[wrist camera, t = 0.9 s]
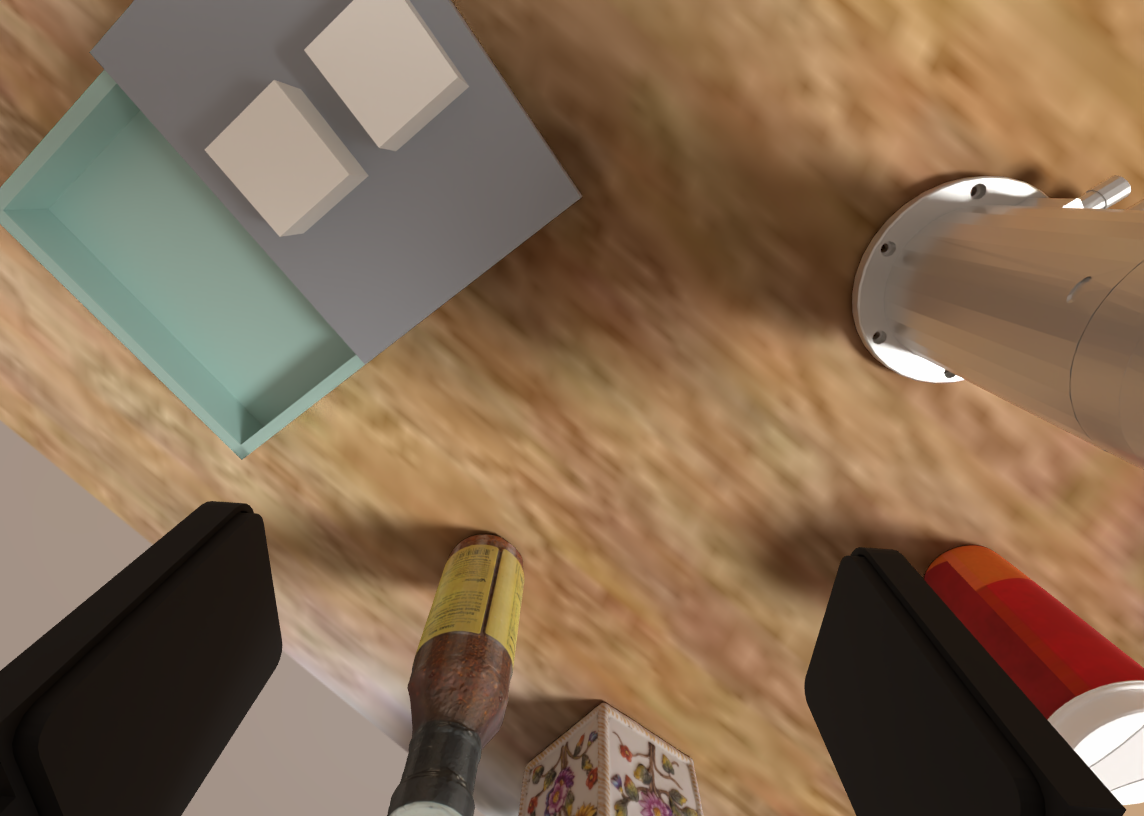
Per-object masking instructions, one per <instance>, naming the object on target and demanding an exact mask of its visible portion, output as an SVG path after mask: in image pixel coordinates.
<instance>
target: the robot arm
mask: <svg viewBox="0 0 1144 816" xmlns="http://www.w3.org/2000/svg"><path fill="white" fill-rule="evenodd" d="M971 189H972V193H971V194H970V192H971ZM1130 192H1131V186H1130V185H1129V183H1128V181H1127V180H1125V179H1124V178H1123V177H1121V176H1116V175H1114V176H1111V177H1109V178H1108V179H1106V180H1104V181H1103V182H1101V183H1099V184H1098V185H1096V186H1094V187H1093V188H1091V189H1090V190H1088V191H1087V192H1086V193H1085V194H1084V195H1082V196H1080V197H1079V198H1077V199H1069V198H1049V197H1048V196H1047V195H1046V194H1045V193H1044V192H1043V191H1041V190H1039V189H1037V188H1035V187H1034V186H1032V185H1030V184H1028V183H1026V182H1023V181H1019V180H1016V179H1012V178H1008V177H994V176H980V177H967V178H962V179H958V180H954V181H950V182H946V183H943V184H941V185H938V186H936V187H934V188H932V189H929V190H927V191H925V192H923V193H921V194H920V195H918V196H917V197H915V198H914V199H912V200H911V201H909V202H908V203H906V204H905V205H903V206H902V207H901V208H900V209H899V210H898V211H897V212H896V213H894V214H893V215H892V216H891V217H890V218H889V219H888V220H887V221H886V222H885V223H884V225H883V226H882V227H881V228H880V230H879V231H878V232H877V233H876V235H875V236H874V237H873V239H872V240H871V242H870V244H869V246H868V247H867V249H866V251H865V253H864V254H863V256H862V259H861V262H860V264H859V267H858V270H857V272H856V275H855V281H854V286H853V292H852V313H853V317H854V322H855V326H856V330H857V332H858V334H859V336H860V338H861V340H862V342H863V344H864V346H865V347H866V348H867V349H868V351H869V352H870V353H871V354H872V356H873V357H874V358H875V359H877V360H878V361H879V362H881V363H882V364H883V365H884V366H886V367H887V368H889V369H891V370H893V371H894V372H896V373H898V374H899V375H902V376H905V377H907V378H910V379H913V380H916V381H922V382H929V383H953V382H958V381H962V380H967V381H969V382H971V383H973V384H975V385H977V386H979V387H980V388H982V389H984V390H986V391H988V392H990V393H992V394H994V395H996V396H998V397H1000V398H1002V399H1004V400H1006V401H1008V402H1010V403H1012V404H1014V405H1016V406H1018V407H1020V408H1022V409H1024V410H1026V411H1028V412H1030V413H1032V414H1034V415H1036V416H1037V417H1039V418H1041V419H1043V420H1045V421H1047V422H1049V423H1051V424H1053V425H1055V426H1057V427H1059V428H1061V429H1063V430H1065V431H1067V432H1069V433H1071V434H1073V435H1075V436H1077V437H1079V438H1081V439H1083V440H1085V441H1087V442H1089V443H1091V444H1093V445H1094V446H1096V447H1098V448H1100V449H1102V450H1104V451H1107V452H1109V453H1111V454H1113V455H1115V456H1117V457H1119V458H1121V459H1123V460H1125V461H1127V462H1129V463H1131V464H1133V465H1135V466H1137V467H1139V468H1141V469H1143V470H1144V199H1143V200H1141V201H1139V202H1138V203H1136V204H1134V205H1132V206H1131V207H1129V208H1127V209H1126V210H1120V209H1107V208H1108V207H1110V206H1112V205H1114V204H1115V203H1117V202H1119V201H1120V200H1122V199H1124V198H1125V197H1127V196H1128V195H1129V194H1130ZM883 244H884V245H885V248H884V250H883V251H881V247H882V245H883ZM875 333H877V334H876V336H875V337H873V335H874V334H875ZM281 653H282V638H281V631H280V625H279V619H278V612H277V606H276V599H275V593H274V587H273V580H272V574H271V567H270V561H269V554H268V548H267V542H266V535H265V529H264V523H263V519H262V517H261V516H260V515H259V514H254V512H253V509H252V508H251V507H250V505H248V504H244V503H230V502H216V501H210V502H206V503H204V504H202V505H201V506H200V507H198V508H197V509H196V510H195V511H194V512H192V513H191V514H190V515H189V516H188V517H186V518H185V519H184V520H183V521H181V522H180V523H179V524H178V525H177V526H175V527H174V528H173V529H172V530H171V531H169V532H168V533H167V534H166V535H165V536H163V537H162V538H161V539H160V540H158V541H157V542H156V543H155V544H154V545H152V546H151V547H150V548H149V549H148V550H146V551H145V552H144V553H143V554H142V555H140V556H139V557H138V558H137V559H135V560H134V561H133V562H132V563H131V564H129V565H128V566H127V567H126V568H124V569H123V570H122V571H121V572H120V573H118V574H117V575H116V576H115V577H114V578H112V579H111V580H110V581H109V582H108V583H106V584H105V585H104V586H103V587H101V588H100V589H99V590H98V591H97V592H95V593H94V594H93V595H92V596H91V597H89V598H88V599H87V600H86V601H85V602H83V603H82V604H81V605H80V606H78V607H77V608H76V609H75V610H74V611H72V612H71V613H70V614H69V615H67V616H66V617H65V618H64V619H63V620H61V621H60V622H59V623H58V624H57V625H55V626H54V627H53V628H52V629H51V630H49V631H48V632H47V633H46V634H44V635H43V636H42V637H41V638H40V639H39V640H37V641H36V642H35V643H34V644H32V645H31V646H30V647H29V648H27V649H26V650H25V651H24V652H23V653H21V654H20V655H19V656H18V657H17V658H15V659H14V660H13V661H12V662H10V663H9V664H8V665H7V666H6V667H4V668H3V669H2V670H1V671H0V816H181V815H182V813H183V812H184V810H185V808H186V807H187V806H188V804H189V802H190V801H191V799H192V798H193V796H194V795H195V793H196V792H197V790H198V788H199V787H200V785H201V784H202V782H203V781H204V779H205V777H206V776H207V774H208V773H209V771H210V770H211V768H212V766H213V765H214V763H215V762H216V760H217V759H218V757H219V756H220V754H221V753H222V751H223V750H224V748H225V746H226V745H227V743H228V742H229V740H230V738H231V737H232V736H233V734H234V732H235V731H236V729H237V728H238V726H239V725H240V723H241V721H242V720H243V718H244V717H245V715H246V714H247V712H248V710H249V709H250V708H251V706H252V704H253V703H254V701H255V700H256V698H257V697H258V695H259V693H260V692H261V690H262V689H263V687H264V686H265V684H266V683H267V681H268V679H269V678H270V676H271V675H272V673H273V671H274V670H275V669H276V666H277V665H278V662H279V660H280V657H281ZM805 696H806V701H807V704H808V706H809V709H810V711H811V713H812V715H813V718H814V720H815V722H816V724H817V727H818V729H819V731H820V734H821V736H822V738H823V740H824V743H825V745H826V747H827V750H828V752H829V754H830V756H831V759H832V761H833V763H834V765H835V768H836V770H837V772H838V775H839V777H840V779H841V781H842V784H843V786H844V788H845V791H846V793H847V795H848V797H849V800H850V802H851V804H852V807H853V809H854V811H855V813H856V816H1123V814H1124V813H1125V811H1126V809H1125V808H1124V807H1123V805H1122V804H1121V803H1120V802H1119V801H1118V800H1117V799H1116V797H1115V796H1114V795H1113V794H1112V793H1111V792H1110V791H1109V789H1108V788H1107V787H1106V786H1105V785H1104V784H1103V783H1102V781H1101V780H1100V779H1099V778H1098V777H1097V776H1096V775H1095V774H1094V772H1093V771H1092V770H1091V769H1090V768H1089V767H1088V766H1087V764H1086V763H1085V762H1084V761H1083V760H1082V759H1081V758H1080V756H1079V755H1078V754H1077V753H1076V752H1075V751H1074V750H1073V749H1072V747H1071V746H1070V745H1069V744H1068V743H1067V742H1066V741H1065V739H1064V738H1063V737H1062V736H1061V735H1060V734H1059V733H1058V731H1057V730H1056V729H1055V728H1054V727H1053V726H1052V725H1051V723H1050V722H1049V721H1048V720H1047V719H1046V718H1045V717H1044V716H1043V714H1042V713H1041V712H1040V711H1039V710H1038V709H1037V708H1036V706H1035V705H1034V704H1033V703H1032V702H1031V701H1030V700H1029V698H1028V697H1027V696H1026V695H1025V694H1024V693H1023V692H1022V690H1021V689H1020V688H1019V687H1018V686H1017V685H1016V684H1015V683H1014V681H1013V680H1012V679H1011V678H1010V677H1009V676H1008V675H1007V673H1006V672H1005V671H1004V670H1003V669H1002V668H1001V667H1000V665H999V664H998V663H997V662H996V661H995V660H994V659H993V657H992V656H991V655H990V654H989V653H988V652H987V651H986V650H985V648H984V647H983V646H982V645H981V644H980V643H979V642H978V640H977V639H976V638H975V637H974V636H973V635H972V634H971V632H970V631H969V630H968V629H967V628H966V627H965V626H964V625H963V623H962V622H961V621H960V620H959V619H958V618H957V617H956V615H955V614H954V613H953V612H952V611H951V610H950V609H949V607H948V606H947V605H946V604H945V603H944V602H943V601H942V599H941V598H940V597H939V596H938V595H937V594H936V593H935V592H934V590H933V589H932V588H931V587H930V586H929V585H928V584H927V582H926V581H925V580H924V579H923V578H922V577H921V576H920V574H919V573H918V572H917V571H916V570H915V569H914V568H913V566H912V565H911V564H910V563H909V562H908V561H907V560H906V559H905V557H904V556H903V555H902V554H901V553H899V552H898V551H896V550H890V549H876V548H862V547H860V548H856V549H855V550H854V551H853V552H852V554H851V556H845V557H844V558H843V559H842V560H841V563H840V565H839V569H838V572H837V575H836V579H835V582H834V585H833V588H832V592H831V595H830V598H829V602H828V605H827V608H826V612H825V615H824V618H823V622H822V625H821V628H820V631H819V635H818V638H817V641H816V645H815V648H814V651H813V655H812V658H811V661H810V665H809V668H808V671H807V674H806V678H805Z"/></svg>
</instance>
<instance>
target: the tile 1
mask: <svg viewBox="0 0 1144 816" xmlns="http://www.w3.org/2000/svg"><path fill="white" fill-rule="evenodd" d="M205 151H206V152H207V153H208V155H209V156H210V157H211V158H212V159H213V160H214V161H215V163H216V164H217V165H218V166H219V167H220V168H221V170H222V171H223V172H224V173H225V174H226V175H227V176H228V178H229V179H230V180H231V181H232V182H233V183H234V185H235V186H236V187H237V188H238V189H239V190H240V192H241V193H242V194H243V195H244V196H245V197H246V198H247V200H248V201H249V202H250V203H251V204H252V205H253V207H254V208H255V209H256V210H257V211H258V212H259V213H260V215H261V216H262V217H263V218H264V219H265V220H266V222H267V223H268V224H269V225H270V226H271V227H272V228H273V230H274V231H275V232H276V233H277V234H278V235H279V237H282V236H289V235H296V234H303V233H305V232H306V231H307V230H308V229H309V228H310V227H311V226H313V225H314V224H315V223H316V222H317V221H318V220H319V219H320V218H322V217H323V216H324V215H325V214H326V213H327V212H328V211H329V210H331V209H332V208H333V207H334V206H335V205H336V204H337V203H339V202H340V201H341V200H342V199H343V198H344V197H345V196H346V195H348V194H349V193H350V192H351V191H352V190H353V189H354V188H355V187H357V186H358V185H359V184H360V183H361V182H362V181H363V180H364V179H366V178H367V177H368V176H369V175H368V174H367V173H366V172H365V170H364V169H363V168H362V167H361V165H360V164H359V163H358V161H357V160H356V159H355V158H354V156H353V155H352V154H351V153H350V151H349V150H348V149H347V147H346V146H345V145H344V144H343V142H342V141H341V140H340V139H339V137H338V136H337V135H336V133H335V132H334V131H333V130H332V128H331V127H330V126H329V124H328V123H327V122H326V121H325V119H324V118H323V117H322V116H321V114H320V113H319V112H318V110H317V109H316V108H315V107H314V105H313V104H312V103H311V102H310V100H309V99H308V98H307V96H306V95H305V94H304V93H303V91H302V90H301V89H299V88H296V87H293V86H290V85H288V84H285V83H282V82H279V81H276V80H273V81H272V82H271V83H270V84H269V85H268V86H267V87H266V88H265V89H264V90H263V91H262V92H261V93H260V94H259V95H258V96H257V98H256V99H255V100H254V101H253V102H252V103H251V104H250V105H249V106H248V107H247V108H246V109H245V110H244V111H243V112H242V113H241V114H240V115H239V116H238V117H237V118H236V119H235V120H234V121H233V122H232V123H231V124H230V125H229V126H228V127H227V128H226V129H225V130H224V131H223V132H222V133H221V134H220V135H219V136H218V137H217V138H216V139H215V140H214V141H213V142H212V143H211V144H210V145H209V146H208V147H207V148H206V149H205Z"/></svg>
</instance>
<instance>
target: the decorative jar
mask: <svg viewBox="0 0 1144 816" xmlns="http://www.w3.org/2000/svg"><path fill="white" fill-rule="evenodd" d="M519 816H703V812H702V805H701V800H700V795H699V789H698V784H697V779H696V774H695V769H694V763H693V760H692V758H690V757H688V756H686V755H684V754H683V753H682V752H680V751H678V750H677V749H676V748H674V747H673V746H671V745H670V744H668V743H667V742H665V741H664V740H662V739H661V738H659V737H658V736H656V735H654V734H653V733H651V732H650V731H648V730H647V729H645V728H644V727H642V726H641V725H639V724H638V723H637V722H635V721H634V720H632V719H630V718H629V717H627V716H625V715H624V714H622V713H621V712H619V711H618V710H616V709H614V708H613V707H611V706H610V705H608V704H606V703H601V704H600V705H599V706H597V707H596V708H594V709H593V710H592V711H591V712H590V713H589V714H588V715H586V716H585V717H584V718H583V719H581V720H580V721H579V722H578V723H577V724H575V725H574V726H573V727H572V728H571V729H570V730H568V731H567V732H566V733H564V734H563V735H562V736H561V737H560V738H558V739H557V740H556V741H555V742H553V743H552V744H551V745H550V746H548V747H547V748H546V749H545V750H544V751H543V752H541V753H540V754H539V755H537V756H536V757H535V758H534V759H533V760H531V761H530V762H529V763H528V764H527V766H526V768H525V772H524V777H523V784H522V793H521V800H520V809H519Z"/></svg>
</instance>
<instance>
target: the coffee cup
mask: <svg viewBox="0 0 1144 816" xmlns="http://www.w3.org/2000/svg"><path fill="white" fill-rule="evenodd" d="M924 580H925V581H926V582H927V584H928V585H929V586H930V587H931V588H932V589H933V590H934V592H935V593H936V594H937V595H938V596H939V597H940V598H941V599H942V601H943V602H944V603H945V604H946V605H947V606H948V607H949V609H950V610H951V611H952V612H953V613H954V614H955V615H956V617H957V618H958V619H959V620H960V621H961V622H962V623H963V625H964V626H965V627H966V628H967V629H968V630H969V631H970V632H971V634H972V635H973V636H974V637H975V638H976V639H977V640H978V642H979V643H980V644H981V645H982V646H983V647H984V648H985V650H986V651H987V652H988V653H989V654H990V655H991V656H992V657H993V659H994V660H995V661H996V662H997V663H998V664H999V665H1000V667H1001V668H1002V669H1003V670H1004V671H1005V672H1006V673H1007V675H1008V676H1009V677H1010V678H1011V679H1012V680H1013V681H1014V683H1015V684H1016V685H1017V686H1018V687H1019V688H1020V689H1021V690H1022V692H1023V693H1024V694H1025V695H1026V696H1027V697H1028V698H1029V700H1030V701H1031V702H1032V703H1033V704H1034V705H1035V706H1036V708H1037V709H1038V710H1039V711H1040V712H1041V713H1042V714H1043V716H1044V717H1045V718H1046V719H1047V720H1048V721H1049V722H1050V723H1051V725H1052V726H1053V727H1054V728H1055V729H1056V730H1057V731H1058V733H1059V734H1060V735H1061V736H1062V737H1063V738H1064V739H1065V741H1066V742H1067V743H1068V744H1069V745H1070V746H1071V747H1072V749H1073V750H1074V751H1075V752H1076V753H1077V754H1078V755H1079V756H1080V758H1081V759H1082V760H1083V761H1084V762H1085V763H1086V764H1087V766H1088V767H1089V768H1090V769H1091V770H1092V771H1093V772H1094V774H1095V775H1096V776H1097V777H1098V778H1099V779H1100V780H1101V781H1102V783H1103V784H1104V785H1105V786H1106V787H1107V788H1108V789H1109V791H1110V792H1111V793H1112V794H1113V795H1114V796H1115V797H1116V799H1117V800H1118V801H1119V802H1120V803H1121V804H1122V805H1129V804H1136V803H1142V802H1144V668H1143V667H1142V666H1140V665H1139V664H1138V663H1137V662H1135V661H1134V660H1133V659H1132V658H1130V657H1129V656H1128V655H1126V654H1125V653H1124V652H1123V651H1121V650H1120V649H1119V648H1118V647H1116V646H1115V645H1114V644H1113V643H1111V642H1110V641H1109V640H1107V639H1106V638H1105V637H1104V636H1102V635H1101V634H1100V633H1099V632H1097V631H1096V630H1095V629H1094V628H1092V627H1091V626H1090V625H1088V624H1087V623H1086V622H1085V621H1083V620H1082V619H1081V618H1080V617H1078V616H1077V615H1076V614H1075V613H1073V612H1072V611H1071V610H1069V609H1068V608H1067V607H1066V606H1064V605H1063V604H1062V603H1061V602H1059V601H1058V600H1057V599H1055V598H1054V597H1053V596H1052V595H1050V594H1049V593H1048V592H1047V591H1045V590H1044V589H1043V588H1041V587H1040V586H1039V585H1038V584H1036V583H1035V582H1034V581H1032V580H1031V579H1030V578H1029V577H1027V576H1026V575H1025V574H1023V573H1022V572H1021V571H1020V570H1018V569H1017V568H1016V567H1014V566H1013V565H1012V564H1010V563H1009V562H1008V561H1006V560H1005V559H1004V558H1003V557H1001V556H1000V555H998V554H997V553H995V552H994V551H992V550H990V549H988V548H986V547H983V546H978V545H966V546H960V547H956V548H953V549H951V550H949V551H946V552H945V553H943V554H941V555H940V556H939V557H937V558H936V559H935V560H934V561H933V562H932V563H931V565H930V566H929V567H928V569H927V571H926V573H925V576H924Z"/></svg>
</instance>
